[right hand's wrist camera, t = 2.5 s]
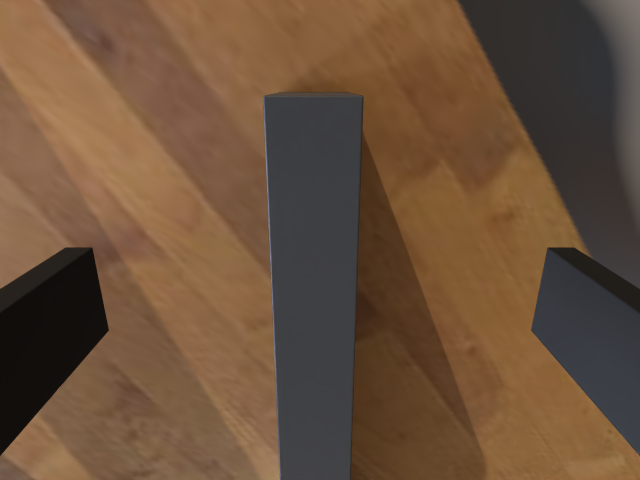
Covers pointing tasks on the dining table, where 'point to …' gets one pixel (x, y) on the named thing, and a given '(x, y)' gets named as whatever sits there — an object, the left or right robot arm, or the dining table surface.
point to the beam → (314, 274)
